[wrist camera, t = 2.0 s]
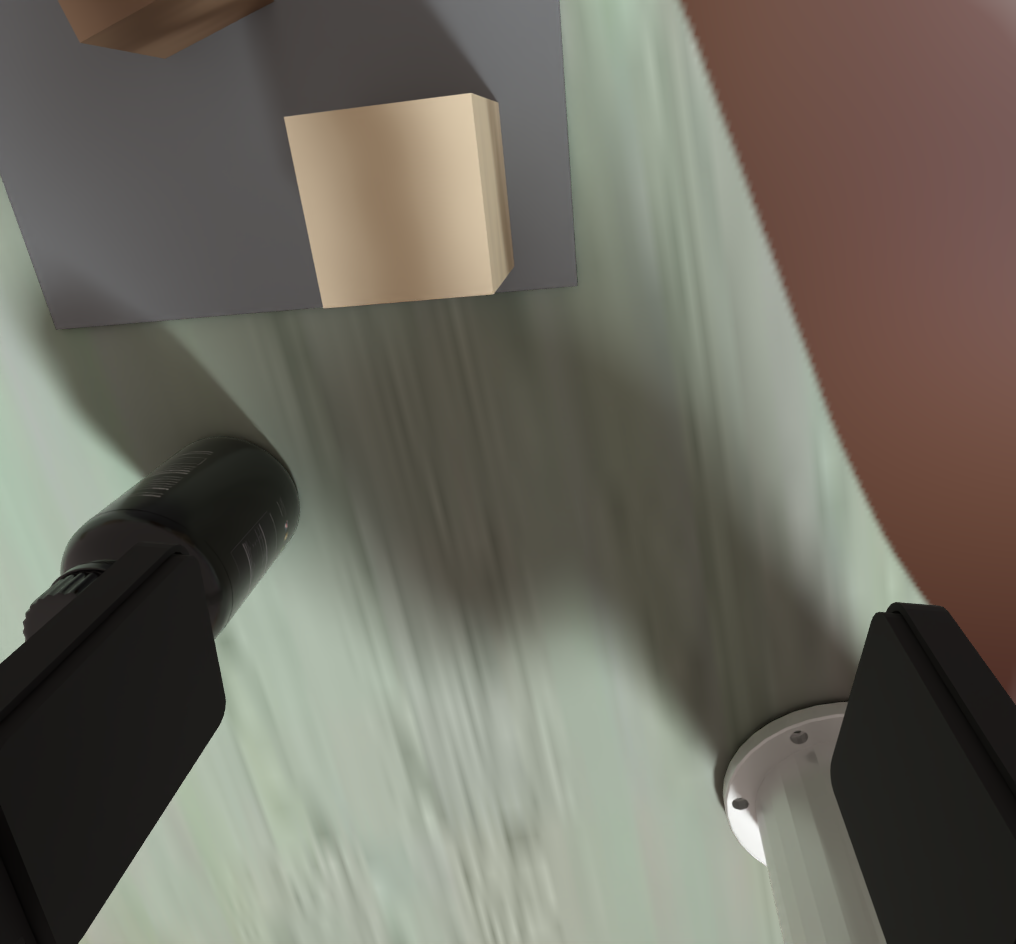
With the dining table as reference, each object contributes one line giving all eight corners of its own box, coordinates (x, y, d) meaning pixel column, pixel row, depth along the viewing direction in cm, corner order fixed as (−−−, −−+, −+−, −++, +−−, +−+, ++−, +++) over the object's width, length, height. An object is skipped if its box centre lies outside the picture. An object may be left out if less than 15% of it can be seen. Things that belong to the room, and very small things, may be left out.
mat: (545, -217, 23) (544, -221, 23) (577, 284, 30) (577, 285, 29) (-90, -94, 27) (-97, -96, 27) (60, 327, 34) (56, 329, 33)
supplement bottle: (170, 532, 38) (-7, 690, 27) (178, 415, 35) (-17, 539, 24) (296, 570, 38) (170, 743, 27) (314, 455, 35) (182, 598, 24)
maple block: (498, 102, 27) (471, 93, 22) (514, 266, 29) (493, 294, 24) (346, 121, 28) (283, 116, 23) (373, 278, 30) (323, 308, 25)
